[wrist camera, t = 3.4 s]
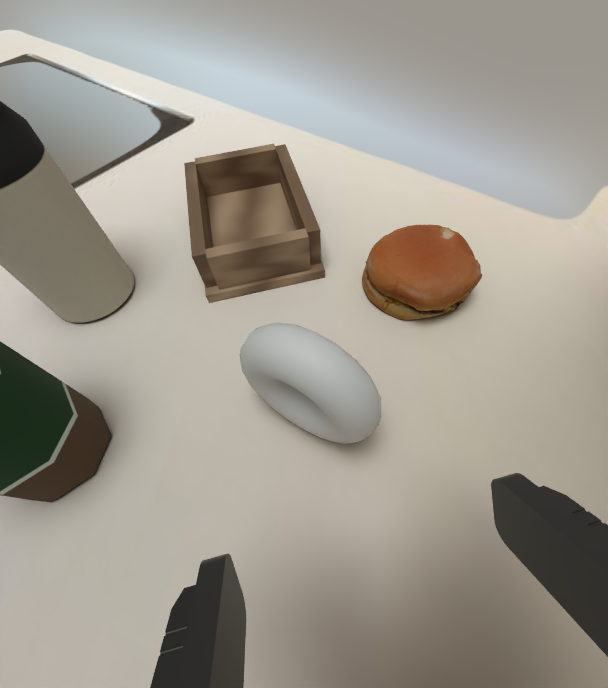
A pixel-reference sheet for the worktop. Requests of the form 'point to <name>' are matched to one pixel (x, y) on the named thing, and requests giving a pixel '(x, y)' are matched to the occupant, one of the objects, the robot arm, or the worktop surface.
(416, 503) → the worktop surface
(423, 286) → the burger
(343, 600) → the worktop surface
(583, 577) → the robot arm
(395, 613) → the worktop surface
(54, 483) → the beer bottle
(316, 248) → the walnut stand
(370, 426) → the donut
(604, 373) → the worktop surface
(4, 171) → the travel mug
